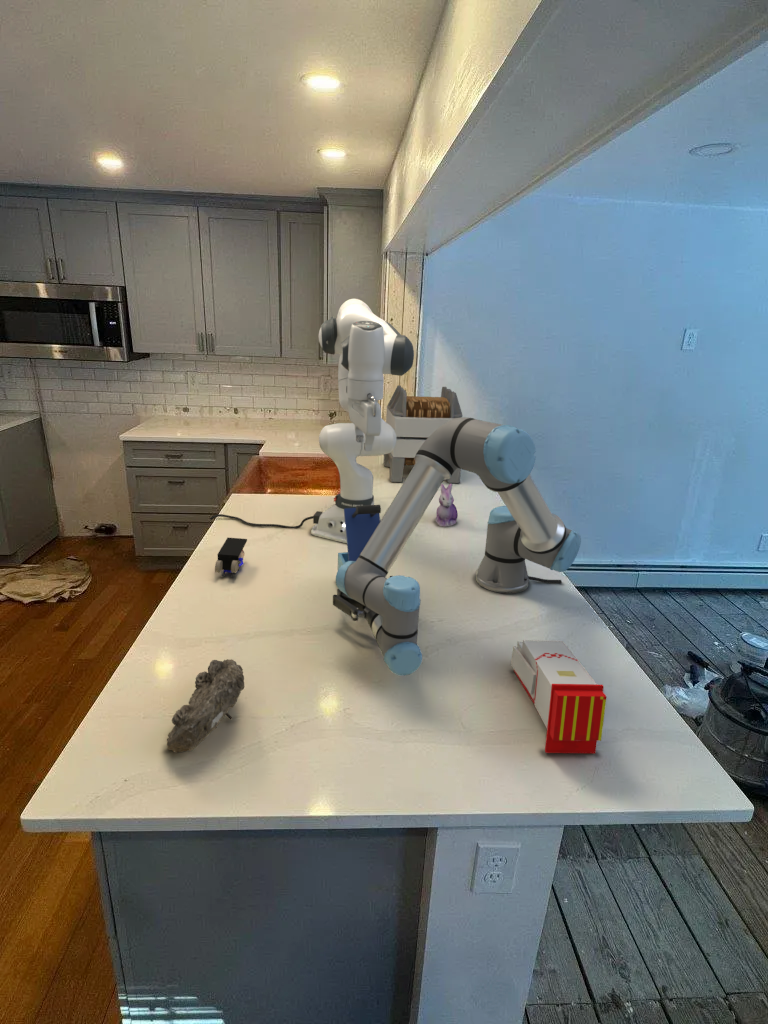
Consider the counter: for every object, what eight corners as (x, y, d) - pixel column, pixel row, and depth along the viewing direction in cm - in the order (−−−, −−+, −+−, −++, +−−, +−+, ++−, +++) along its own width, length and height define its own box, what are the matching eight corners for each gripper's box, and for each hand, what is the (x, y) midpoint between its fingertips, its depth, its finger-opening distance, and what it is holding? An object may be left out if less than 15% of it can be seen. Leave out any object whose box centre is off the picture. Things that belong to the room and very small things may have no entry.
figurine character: (238, 584, 162) (249, 557, 175) (236, 562, 158) (247, 536, 172) (215, 584, 161) (227, 556, 175) (212, 561, 158) (225, 535, 171)
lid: (343, 509, 149) (350, 500, 140) (377, 507, 151) (386, 498, 142) (350, 577, 145) (357, 573, 136) (384, 574, 147) (394, 570, 139)
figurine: (442, 528, 206) (446, 489, 201) (428, 519, 214) (431, 481, 209) (464, 525, 210) (468, 486, 205) (449, 516, 218) (452, 479, 213)
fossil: (192, 660, 117) (244, 628, 112) (224, 691, 120) (276, 661, 115) (142, 746, 98) (202, 712, 93) (182, 779, 101) (242, 748, 96)
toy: (559, 623, 127) (616, 692, 98) (553, 678, 130) (607, 761, 101) (505, 622, 127) (547, 691, 98) (501, 677, 130) (540, 760, 100)
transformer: (382, 463, 289) (386, 382, 275) (445, 464, 293) (451, 384, 279) (390, 482, 257) (394, 392, 243) (460, 483, 261) (468, 394, 247)
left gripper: (389, 397, 130) (386, 456, 135) (368, 385, 149) (366, 437, 154) (362, 397, 129) (360, 456, 134) (344, 385, 147) (343, 437, 152)
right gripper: (332, 644, 127) (318, 599, 146) (437, 633, 134) (410, 591, 153) (333, 615, 125) (318, 573, 144) (439, 605, 131) (412, 566, 150)
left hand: (363, 446), depth 144 cm, fingers open, 8 cm apart
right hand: (365, 582), depth 148 cm, fingers open, 13 cm apart
